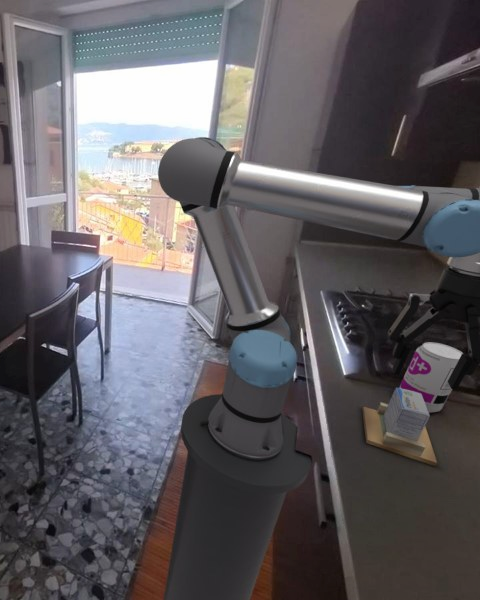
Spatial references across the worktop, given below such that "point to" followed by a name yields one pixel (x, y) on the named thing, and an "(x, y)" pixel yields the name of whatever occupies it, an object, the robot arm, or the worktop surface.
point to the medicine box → (406, 414)
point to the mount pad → (396, 437)
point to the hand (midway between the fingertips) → (423, 378)
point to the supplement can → (431, 373)
